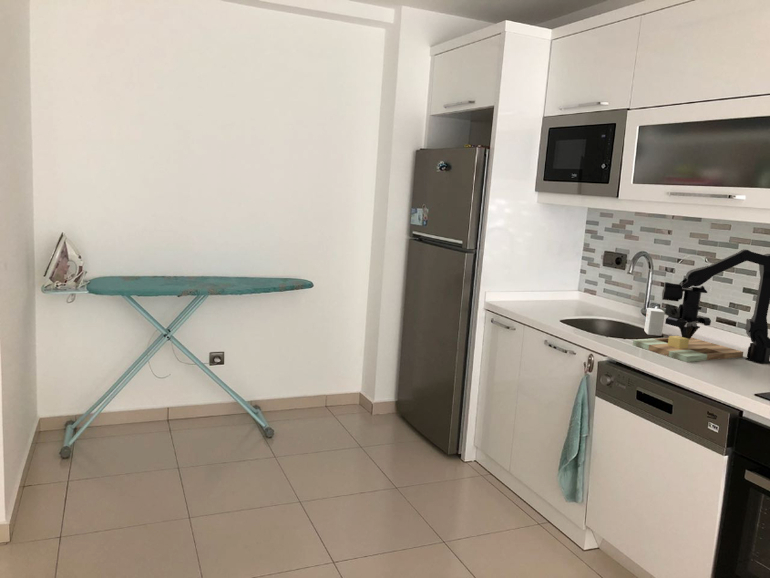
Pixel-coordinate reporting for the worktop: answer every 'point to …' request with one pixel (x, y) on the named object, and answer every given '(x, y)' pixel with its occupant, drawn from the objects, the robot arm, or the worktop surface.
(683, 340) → the mustard block
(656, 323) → the small box
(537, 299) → the worktop surface
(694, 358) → the trap deck
